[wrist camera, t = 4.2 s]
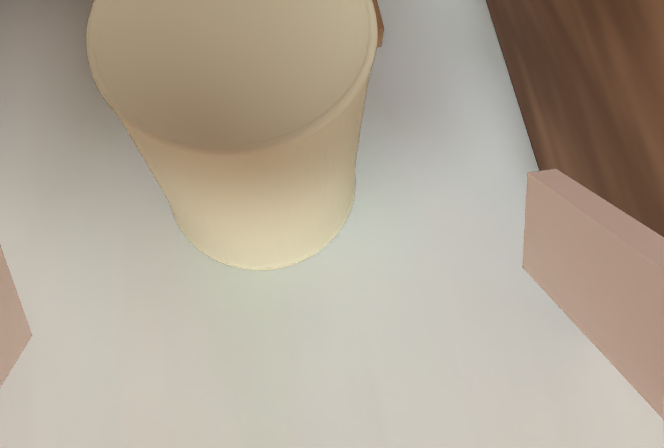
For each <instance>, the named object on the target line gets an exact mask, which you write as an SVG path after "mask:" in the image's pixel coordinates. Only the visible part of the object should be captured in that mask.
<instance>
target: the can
mask: <svg viewBox="0 0 664 448" xmlns="http://www.w3.org/2000/svg"><path fill="white" fill-rule="evenodd" d="M377 38H378V30H377V19H376V13H375V9H374V5H373V2H372V0H94V2H93V5H92V8H91V11H90V14H89V18H88V24H87V31H86V51H87V58H88V63H89V67H90V70H91V74H92V76H93V79H94V81H95V83H96V85H97V87H98V89H99V91H100V93H101V94H102V96H103V97H104V99H105V100H106V102H107V103H108V104H109V105H110V107H111V108H112V109H113V110H114V111H115V112H116V114H117V115H118V117H119V118H120V120H121V121H122V123H123V125H124V126H125V128H126V130H127V131H128V133H129V135H130V136H131V138H132V139H133V141H134V143H135V144H136V146H137V148H138V149H139V151H140V153H141V154H142V156H143V158H144V159H145V161H146V163H147V165H148V166H149V168H150V170H151V171H152V173H153V175H154V177H155V178H156V180H157V182H158V183H159V185H160V187H161V189H162V190H163V192H164V194H165V196H166V198H167V199H168V201H169V203H170V206H171V210H172V213H173V216H174V218H175V220H176V222H177V224H178V226H179V228H180V229H181V231H182V232H183V234H184V235H185V236H186V237H187V239H188V240H189V241H190V242H191V243H192V244H193V245H194V246H195V247H196V248H197V249H199V250H200V251H201V252H203V253H204V254H206V255H207V256H209V257H211V258H212V259H214V260H216V261H218V262H221V263H223V264H226V265H229V266H232V267H236V268H241V269H248V270H271V269H278V268H283V267H287V266H290V265H293V264H296V263H298V262H301V261H303V260H305V259H307V258H309V257H311V256H312V255H314V254H316V253H317V252H318V251H320V250H321V249H322V248H324V247H325V246H326V245H327V244H328V243H329V242H330V241H331V240H332V239H333V238H334V237H335V236H336V235H337V233H338V232H339V231H340V229H341V228H342V226H343V225H344V223H345V221H346V220H347V218H348V215H349V213H350V210H351V207H352V204H353V201H354V195H355V186H356V180H355V163H356V155H357V149H358V142H359V135H360V128H361V122H362V115H363V109H364V103H365V98H366V92H367V86H368V80H369V74H370V71H371V68H372V65H373V62H374V58H375V54H376V49H377Z"/></svg>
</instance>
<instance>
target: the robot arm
mask: <svg viewBox="0 0 664 448" xmlns="http://www.w3.org/2000/svg"><path fill="white" fill-rule="evenodd" d="M522 267H523V268H524V269H525V270H526V271H527V273H528V274H529V275H530V276H531V277H532V278H533V279H534V280H535V281H536V282H537V283H538V284H539V286H540V287H541V288H542V289H543V290H544V291H545V292H546V293H547V294H548V295H549V296H550V297H551V298H552V300H553V301H554V302H555V303H556V304H557V305H558V306H559V307H560V308H561V309H562V310H563V311H564V313H565V314H566V315H567V316H568V317H569V318H570V319H571V320H572V321H573V322H574V323H575V324H576V326H577V327H578V328H579V329H580V330H581V331H582V332H583V333H584V334H585V335H586V336H587V337H588V339H589V340H590V341H591V342H592V343H593V344H594V345H595V346H596V347H597V348H598V349H599V350H600V351H601V353H602V354H603V355H604V356H605V357H606V358H607V359H608V360H609V361H610V362H611V363H612V364H613V366H614V367H615V368H616V369H617V370H618V371H619V372H620V373H621V374H622V375H623V376H624V377H625V379H626V380H627V381H628V382H629V383H630V384H631V385H632V386H633V387H634V388H635V389H636V390H637V391H638V393H639V394H640V395H641V396H642V397H643V398H644V399H645V400H646V401H647V402H648V403H649V404H650V406H651V407H652V408H653V409H654V410H655V411H656V412H657V413H658V414H659V415H660V416H661V417H662V419H663V420H664V237H662V236H661V235H659V234H658V233H656V232H654V231H653V230H651V229H650V228H648V227H647V226H645V225H643V224H642V223H640V222H639V221H637V220H636V219H634V218H633V217H631V216H629V215H628V214H626V213H625V212H623V211H622V210H620V209H618V208H617V207H615V206H614V205H612V204H611V203H609V202H607V201H606V200H604V199H603V198H601V197H600V196H598V195H596V194H595V193H593V192H592V191H590V190H589V189H587V188H585V187H584V186H582V185H581V184H579V183H578V182H576V181H574V180H573V179H571V178H570V177H568V176H567V175H565V174H563V173H562V172H560V171H559V170H557V169H551V170H543V171H535V172H528V174H527V193H526V211H525V230H524V248H523V266H522ZM31 336H32V334H31V331H30V328H29V325H28V322H27V319H26V317H25V314H24V311H23V308H22V305H21V302H20V300H19V297H18V294H17V291H16V288H15V285H14V283H13V280H12V277H11V274H10V271H9V268H8V266H7V263H6V260H5V257H4V254H3V251H2V249H1V246H0V387H1V385H2V384H3V382H4V381H5V379H6V377H7V376H8V374H9V372H10V371H11V369H12V367H13V366H14V364H15V363H16V361H17V359H18V358H19V356H20V354H21V353H22V351H23V350H24V348H25V346H26V345H27V343H28V341H29V340H30V338H31Z"/></svg>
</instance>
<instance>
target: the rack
mask: <svg viewBox="0 0 664 448" xmlns="http://www.w3.org/2000/svg"><path fill="white" fill-rule="evenodd" d="M486 2H487V5H488V8H489V11H490V14H491V18H492V21H493V24H494V27H495V30H496V33H497V37H498V40H499V43H500V46H501V49H502V52H503V56H504V59H505V62H506V65H507V68H508V71H509V75H510V78H511V81H512V84H513V87H514V91H515V94H516V97H517V100H518V103H519V106H520V110H521V113H522V116H523V119H524V122H525V125H526V129H527V132H528V135H529V138H530V141H531V144H532V148H533V151H534V154H535V157H536V160H537V164H538V167H539V170H540V171H543V170H551V169H557V170H559V171H560V172H562V173H563V174H565V175H567V176H568V177H570V178H571V179H573V180H574V181H576V182H578V183H579V184H581V185H582V186H584V187H585V188H587V189H589V190H590V191H592V192H593V193H595V194H596V195H598V196H600V197H601V198H603V199H604V200H606V201H607V202H609V203H611V204H612V205H614V206H615V207H617V208H618V209H620V210H622V211H623V212H625V213H626V214H628V215H629V216H631V217H633V218H634V219H636V220H637V221H639V222H640V223H642V224H643V225H645V226H647V227H648V228H650V229H651V230H653V231H654V232H656V233H658V234H659V235H661V236H662V237H664V0H486Z"/></svg>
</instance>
